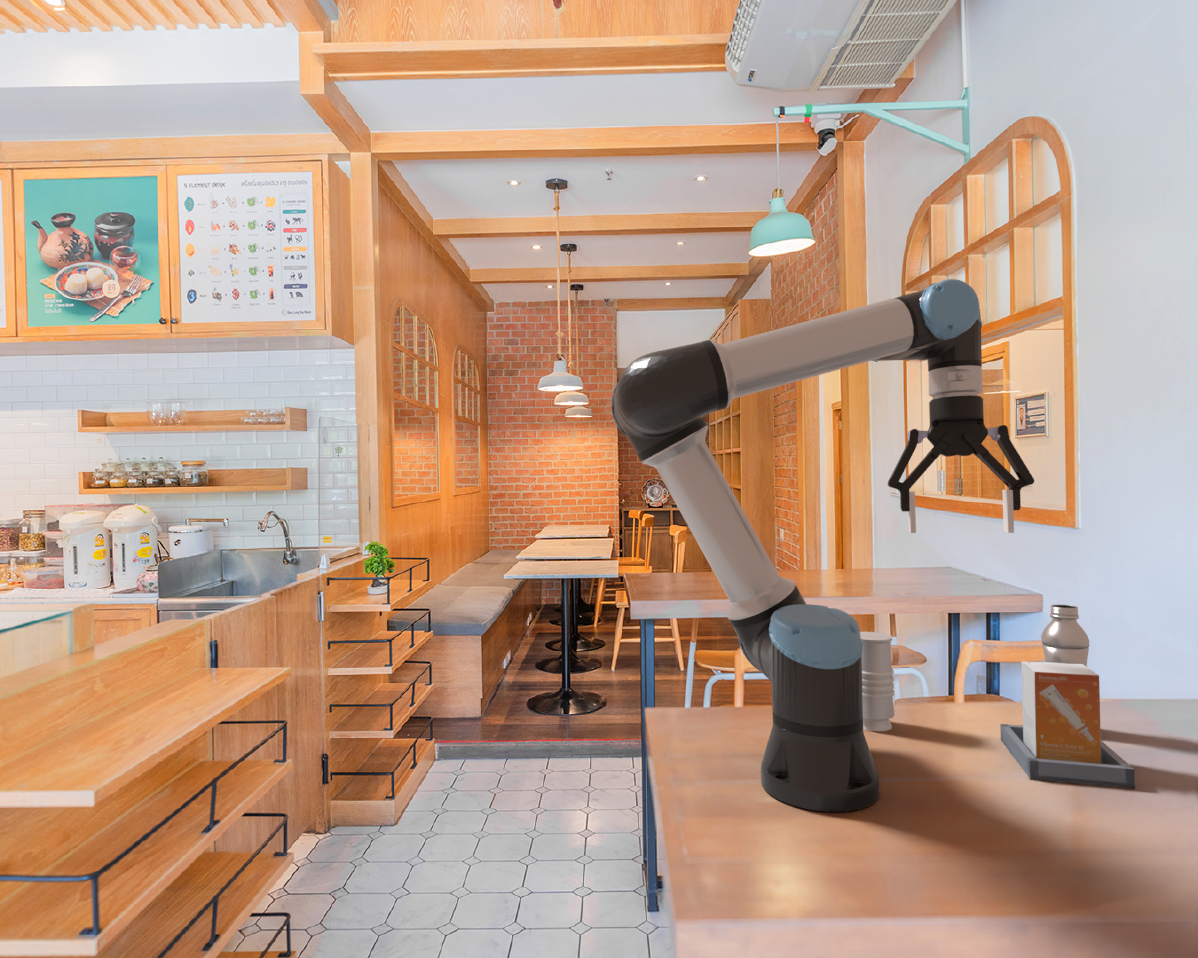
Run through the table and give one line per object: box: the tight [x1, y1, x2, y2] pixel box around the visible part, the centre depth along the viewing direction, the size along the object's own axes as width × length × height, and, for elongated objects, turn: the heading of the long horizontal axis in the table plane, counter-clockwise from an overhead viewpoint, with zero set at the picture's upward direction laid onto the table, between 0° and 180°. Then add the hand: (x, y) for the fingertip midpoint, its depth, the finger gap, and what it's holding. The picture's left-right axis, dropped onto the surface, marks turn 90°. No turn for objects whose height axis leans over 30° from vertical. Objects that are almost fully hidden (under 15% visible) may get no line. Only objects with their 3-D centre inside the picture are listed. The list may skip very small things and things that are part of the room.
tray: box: [999, 723, 1136, 789], centre depth 98 cm, size 12×15×2 cm
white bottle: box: [860, 631, 895, 732], centre depth 115 cm, size 7×7×15 cm
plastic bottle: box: [1040, 604, 1090, 667], centre depth 111 cm, size 6×7×20 cm
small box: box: [1021, 660, 1102, 764], centre depth 98 cm, size 8×6×13 cm
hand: (959, 532), depth 107 cm, fingers open, 13 cm apart
